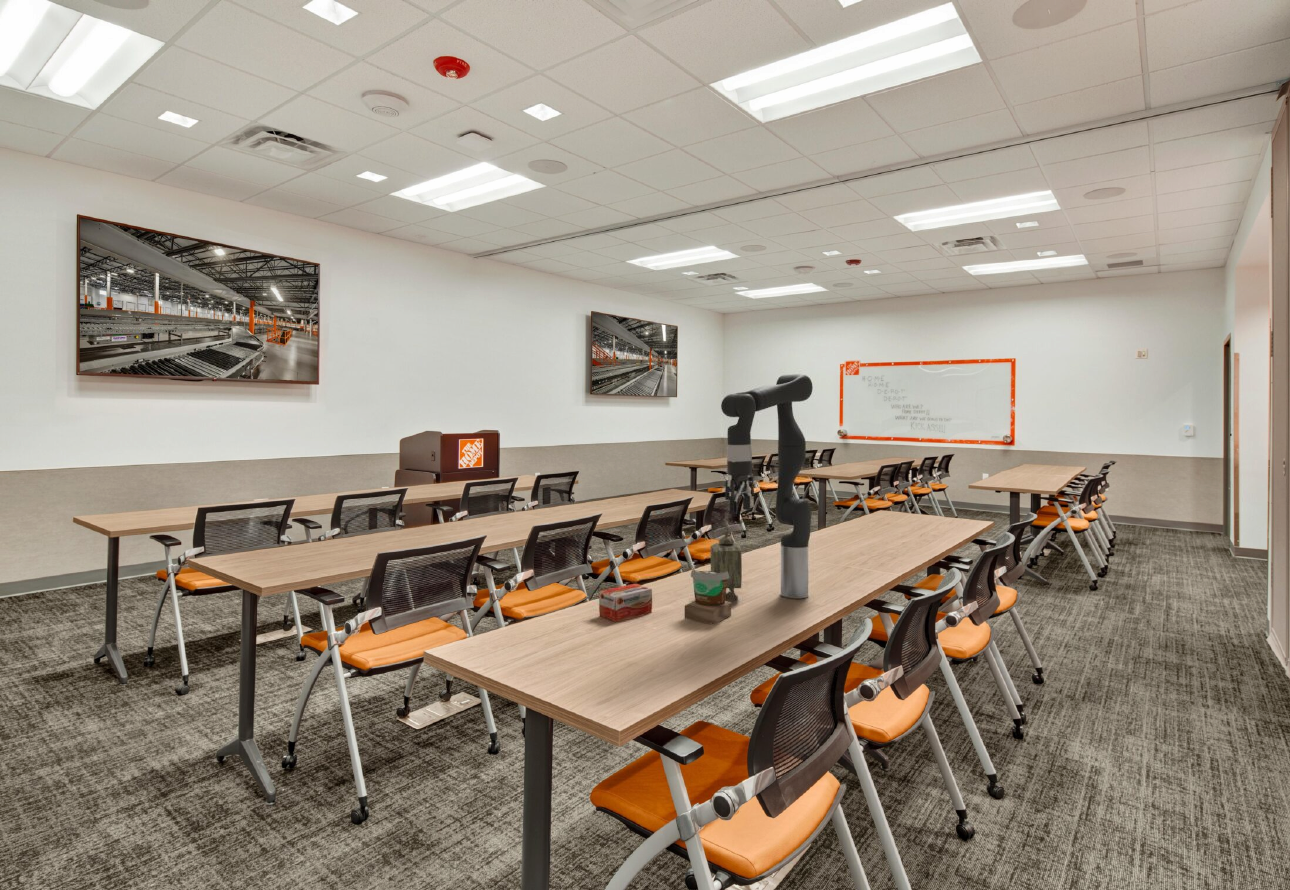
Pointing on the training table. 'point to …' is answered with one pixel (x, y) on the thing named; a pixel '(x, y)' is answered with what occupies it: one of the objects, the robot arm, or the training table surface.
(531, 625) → the training table surface
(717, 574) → the food container
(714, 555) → the tabletop clock
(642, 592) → the medicine box
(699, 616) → the plinth
